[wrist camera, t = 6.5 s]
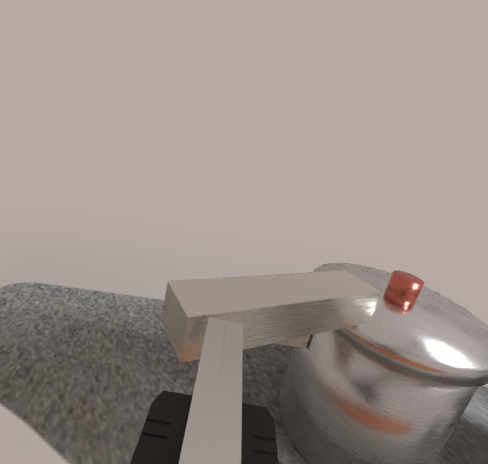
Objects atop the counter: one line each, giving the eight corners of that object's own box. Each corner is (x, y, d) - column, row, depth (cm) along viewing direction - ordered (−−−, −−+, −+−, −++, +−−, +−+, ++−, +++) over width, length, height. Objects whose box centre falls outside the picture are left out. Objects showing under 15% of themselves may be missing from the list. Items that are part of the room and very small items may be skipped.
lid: (373, 272, 36) (384, 242, 35) (527, 360, 24) (553, 318, 23) (137, 289, 21) (144, 238, 20) (229, 535, 9) (258, 444, 8)
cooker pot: (382, 378, 36) (420, 294, 33) (461, 517, 23) (538, 400, 20) (175, 340, 35) (191, 247, 31) (131, 463, 22) (150, 327, 18)
